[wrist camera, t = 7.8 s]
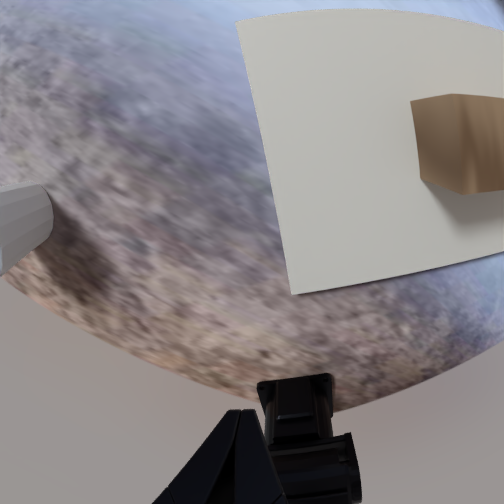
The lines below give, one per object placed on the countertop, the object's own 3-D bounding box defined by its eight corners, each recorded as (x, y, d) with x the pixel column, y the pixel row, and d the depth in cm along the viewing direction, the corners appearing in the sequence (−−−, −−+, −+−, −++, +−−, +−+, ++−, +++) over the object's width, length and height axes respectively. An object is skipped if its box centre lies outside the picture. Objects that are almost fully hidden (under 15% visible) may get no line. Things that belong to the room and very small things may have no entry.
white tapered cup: (69, 241, 21) (13, 279, 14) (23, 255, 22) (-26, 288, 15) (46, 161, 18) (-19, 178, 12) (2, 187, 19) (-52, 208, 13)
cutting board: (535, 236, 17) (542, 240, 17) (290, 287, 21) (291, 294, 20) (518, 40, 11) (525, 38, 10) (237, 27, 15) (235, 21, 14)
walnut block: (420, 178, 16) (525, 170, 15) (462, 195, 12) (567, 183, 10) (409, 101, 15) (519, 107, 13) (451, 93, 10) (563, 109, 8)
